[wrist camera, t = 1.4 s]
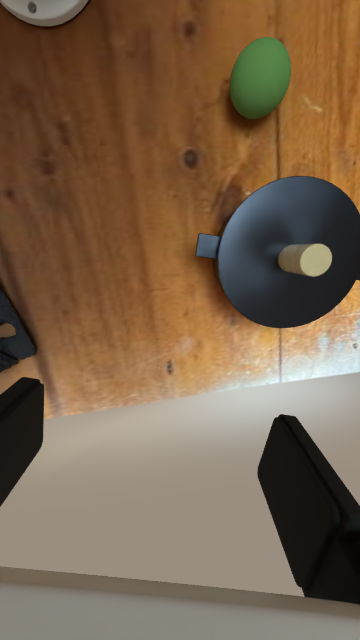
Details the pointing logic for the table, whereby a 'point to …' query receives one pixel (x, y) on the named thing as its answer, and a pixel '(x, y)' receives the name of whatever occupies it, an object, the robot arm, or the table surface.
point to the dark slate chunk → (13, 337)
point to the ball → (260, 78)
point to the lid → (290, 252)
